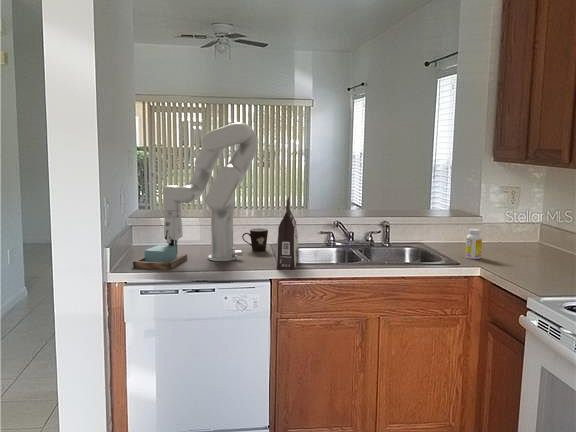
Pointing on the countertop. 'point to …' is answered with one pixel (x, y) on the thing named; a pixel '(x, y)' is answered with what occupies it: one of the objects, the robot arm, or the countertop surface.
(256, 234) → the coffee mug
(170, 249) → the carton
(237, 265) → the countertop surface
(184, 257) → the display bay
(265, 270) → the countertop surface
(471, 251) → the supplement bottle
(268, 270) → the countertop surface
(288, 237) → the protein powder
